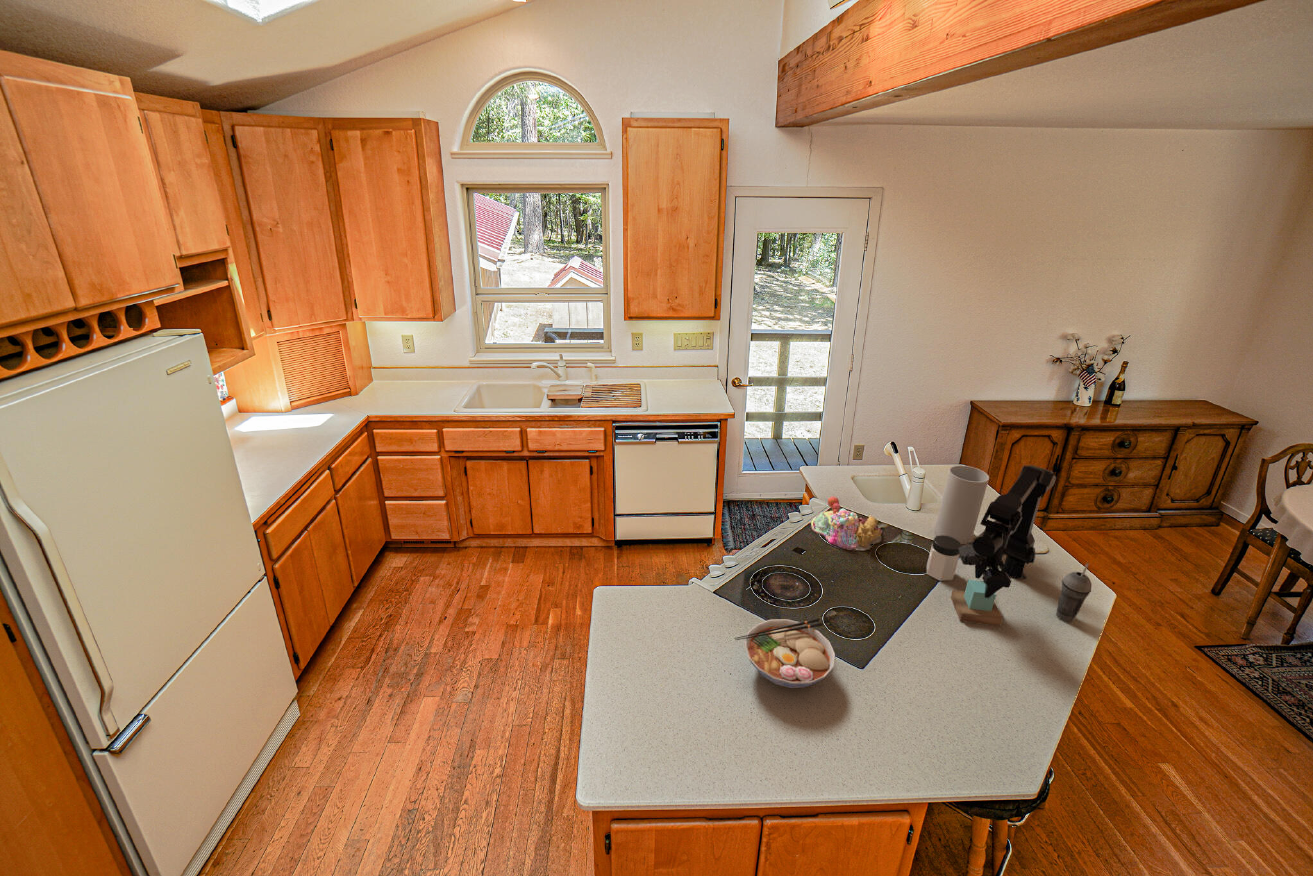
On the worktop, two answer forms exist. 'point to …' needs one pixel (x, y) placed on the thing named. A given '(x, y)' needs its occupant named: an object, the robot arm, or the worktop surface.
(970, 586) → the teal block
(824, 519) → the pastel sphere sculpture
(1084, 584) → the beverage cup
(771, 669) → the ramen bowl
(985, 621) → the walnut base
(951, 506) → the cylinder vase
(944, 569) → the jar
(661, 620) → the worktop surface
